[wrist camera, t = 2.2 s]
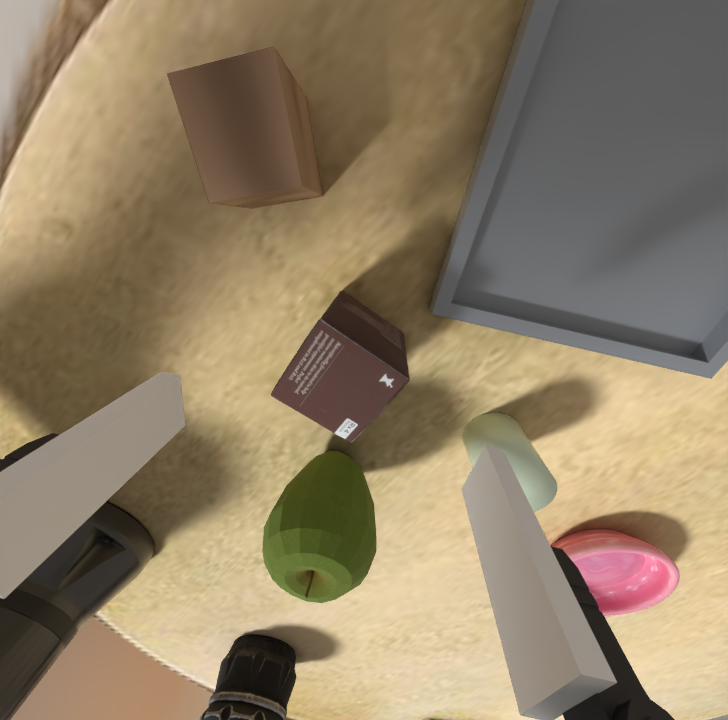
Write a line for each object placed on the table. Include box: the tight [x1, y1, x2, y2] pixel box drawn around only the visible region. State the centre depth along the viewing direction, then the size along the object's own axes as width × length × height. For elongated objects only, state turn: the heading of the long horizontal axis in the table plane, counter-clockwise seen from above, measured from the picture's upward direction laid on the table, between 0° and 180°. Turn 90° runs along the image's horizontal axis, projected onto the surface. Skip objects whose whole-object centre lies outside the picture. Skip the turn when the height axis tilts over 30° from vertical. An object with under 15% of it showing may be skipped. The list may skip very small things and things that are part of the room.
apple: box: [263, 450, 376, 603], centre depth 23 cm, size 9×8×12 cm
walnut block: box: [167, 47, 323, 208], centre depth 15 cm, size 5×5×5 cm
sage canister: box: [462, 413, 557, 512], centre depth 22 cm, size 5×5×6 cm
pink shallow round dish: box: [552, 529, 680, 616], centre depth 30 cm, size 12×12×3 cm
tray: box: [429, 0, 728, 379], centre depth 16 cm, size 20×20×2 cm
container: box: [200, 635, 296, 720], centre depth 44 cm, size 13×13×10 cm
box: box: [271, 291, 410, 442], centre depth 19 cm, size 6×6×7 cm
